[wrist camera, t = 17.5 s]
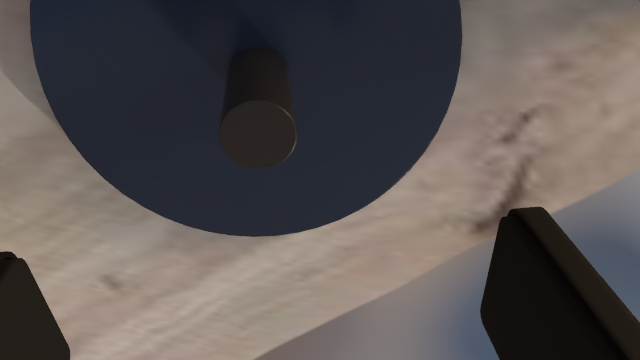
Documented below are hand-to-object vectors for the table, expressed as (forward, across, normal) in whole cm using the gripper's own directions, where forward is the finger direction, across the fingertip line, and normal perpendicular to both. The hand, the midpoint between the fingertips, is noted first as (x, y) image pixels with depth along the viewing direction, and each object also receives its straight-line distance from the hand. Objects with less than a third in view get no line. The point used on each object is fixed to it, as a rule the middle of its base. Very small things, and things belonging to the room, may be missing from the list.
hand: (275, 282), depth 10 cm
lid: (+11, 0, 0) cm, 11 cm away
